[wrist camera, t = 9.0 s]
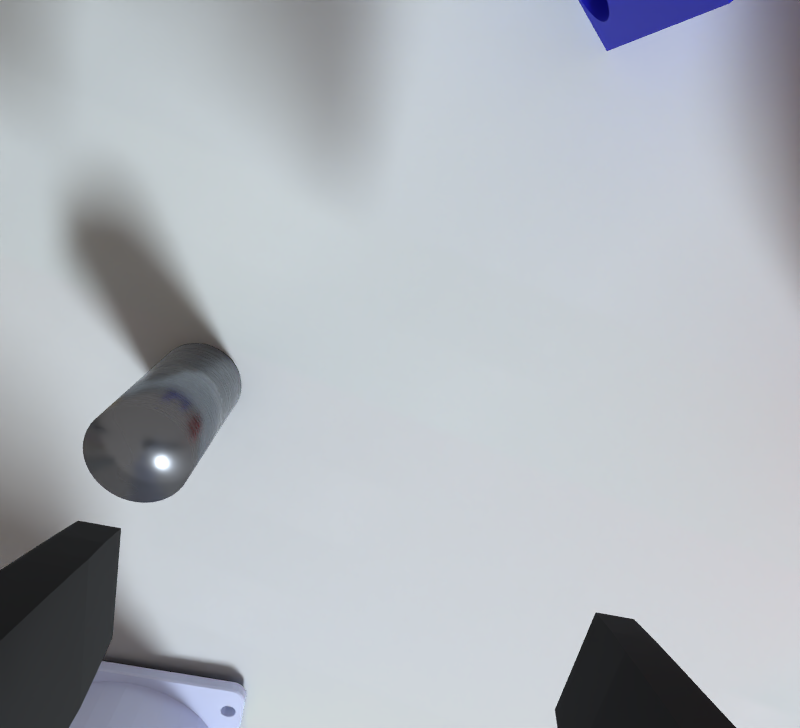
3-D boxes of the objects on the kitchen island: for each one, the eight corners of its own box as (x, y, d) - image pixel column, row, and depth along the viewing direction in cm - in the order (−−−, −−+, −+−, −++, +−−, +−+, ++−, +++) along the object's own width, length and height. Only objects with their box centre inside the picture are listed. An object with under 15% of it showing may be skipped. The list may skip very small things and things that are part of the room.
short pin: (231, 429, 19) (180, 513, 14) (152, 407, 18) (76, 487, 14) (248, 356, 18) (200, 423, 14) (166, 333, 18) (90, 394, 13)
